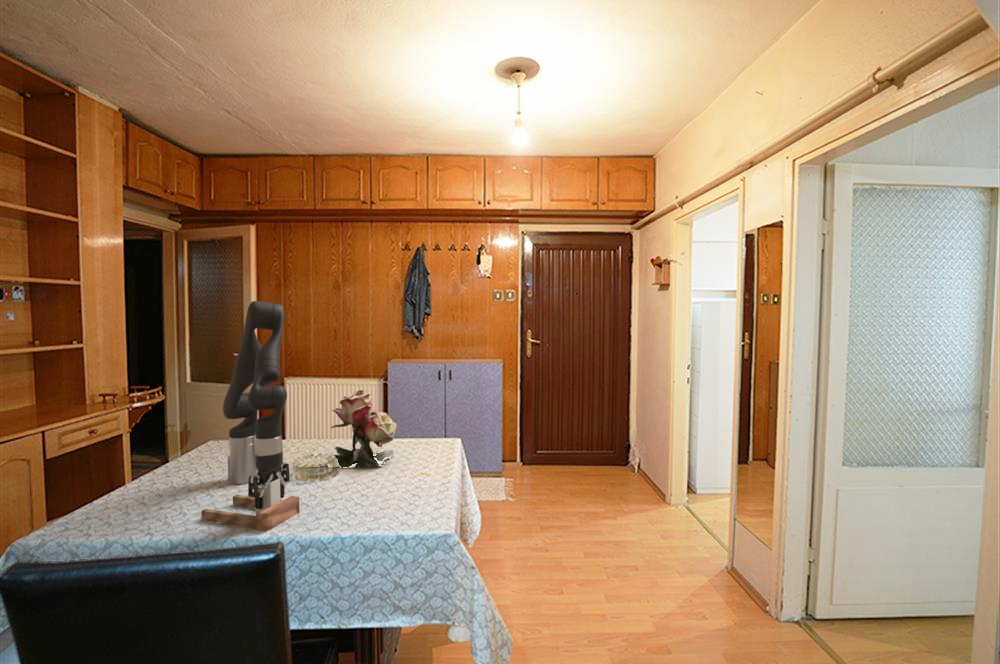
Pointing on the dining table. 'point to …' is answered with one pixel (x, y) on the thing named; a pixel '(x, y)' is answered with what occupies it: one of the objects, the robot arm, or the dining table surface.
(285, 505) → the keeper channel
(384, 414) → the rose bouquet
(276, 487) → the skincare box
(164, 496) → the dining table surface
